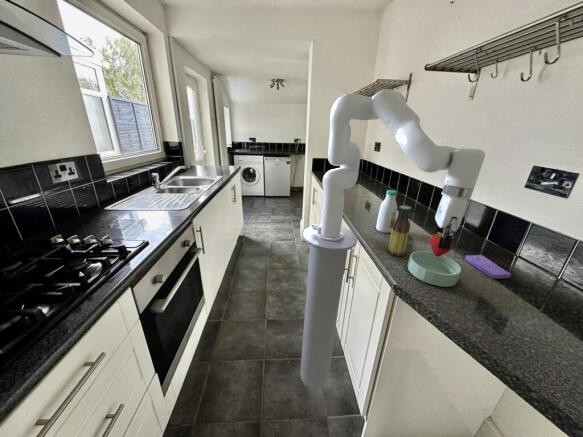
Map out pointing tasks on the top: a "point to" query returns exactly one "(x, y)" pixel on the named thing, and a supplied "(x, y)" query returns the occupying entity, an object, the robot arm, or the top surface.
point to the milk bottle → (387, 212)
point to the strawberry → (434, 245)
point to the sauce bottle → (400, 232)
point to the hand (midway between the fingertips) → (440, 242)
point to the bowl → (434, 268)
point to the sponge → (487, 266)
